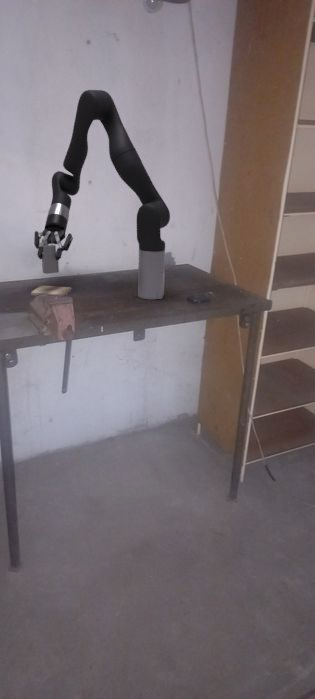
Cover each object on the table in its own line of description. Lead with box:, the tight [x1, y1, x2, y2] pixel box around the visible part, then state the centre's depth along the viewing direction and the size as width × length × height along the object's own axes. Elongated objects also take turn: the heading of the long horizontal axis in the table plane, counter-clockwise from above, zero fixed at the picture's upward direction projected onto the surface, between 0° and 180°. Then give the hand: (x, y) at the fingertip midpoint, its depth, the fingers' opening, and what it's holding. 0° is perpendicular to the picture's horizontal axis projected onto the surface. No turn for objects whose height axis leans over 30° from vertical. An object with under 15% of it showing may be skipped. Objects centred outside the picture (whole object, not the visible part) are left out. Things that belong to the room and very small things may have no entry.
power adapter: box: [41, 239, 60, 275], centre depth 185 cm, size 3×5×12 cm, turn 120°
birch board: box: [30, 285, 72, 297], centre depth 190 cm, size 12×10×1 cm
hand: (48, 258), depth 184 cm, fingers closed on power adapter, 5 cm apart
